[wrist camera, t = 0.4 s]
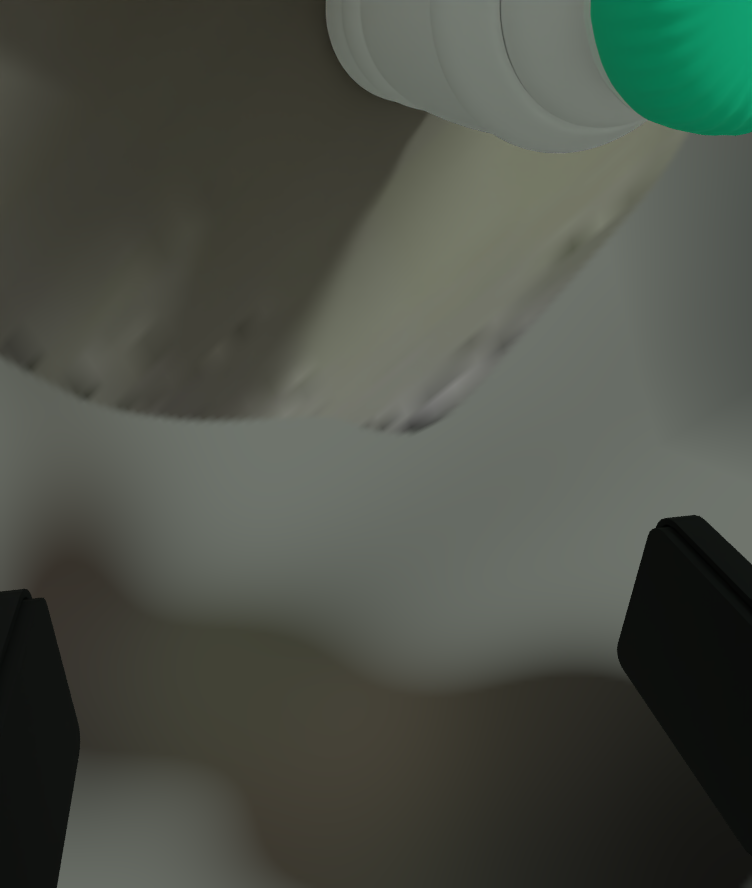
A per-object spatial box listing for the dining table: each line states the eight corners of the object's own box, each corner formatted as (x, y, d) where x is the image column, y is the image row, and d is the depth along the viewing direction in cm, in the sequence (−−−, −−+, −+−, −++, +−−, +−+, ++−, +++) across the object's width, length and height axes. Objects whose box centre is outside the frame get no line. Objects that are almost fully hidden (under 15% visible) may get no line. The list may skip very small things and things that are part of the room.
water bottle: (361, 126, 34) (632, 284, 13) (295, -38, 30) (522, -208, 9) (494, 58, 33) (998, 102, 12) (444, -117, 30) (1048, -485, 9)
